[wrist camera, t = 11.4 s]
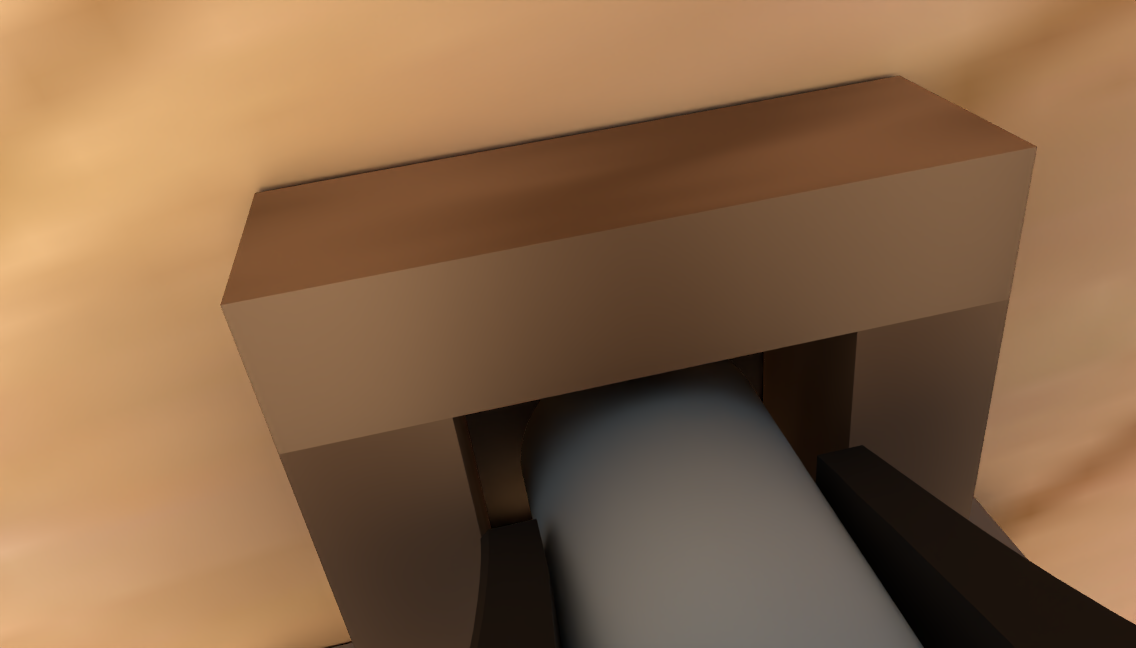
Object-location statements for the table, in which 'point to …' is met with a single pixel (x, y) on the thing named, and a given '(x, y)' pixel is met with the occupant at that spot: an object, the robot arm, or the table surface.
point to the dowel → (693, 523)
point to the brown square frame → (622, 310)
